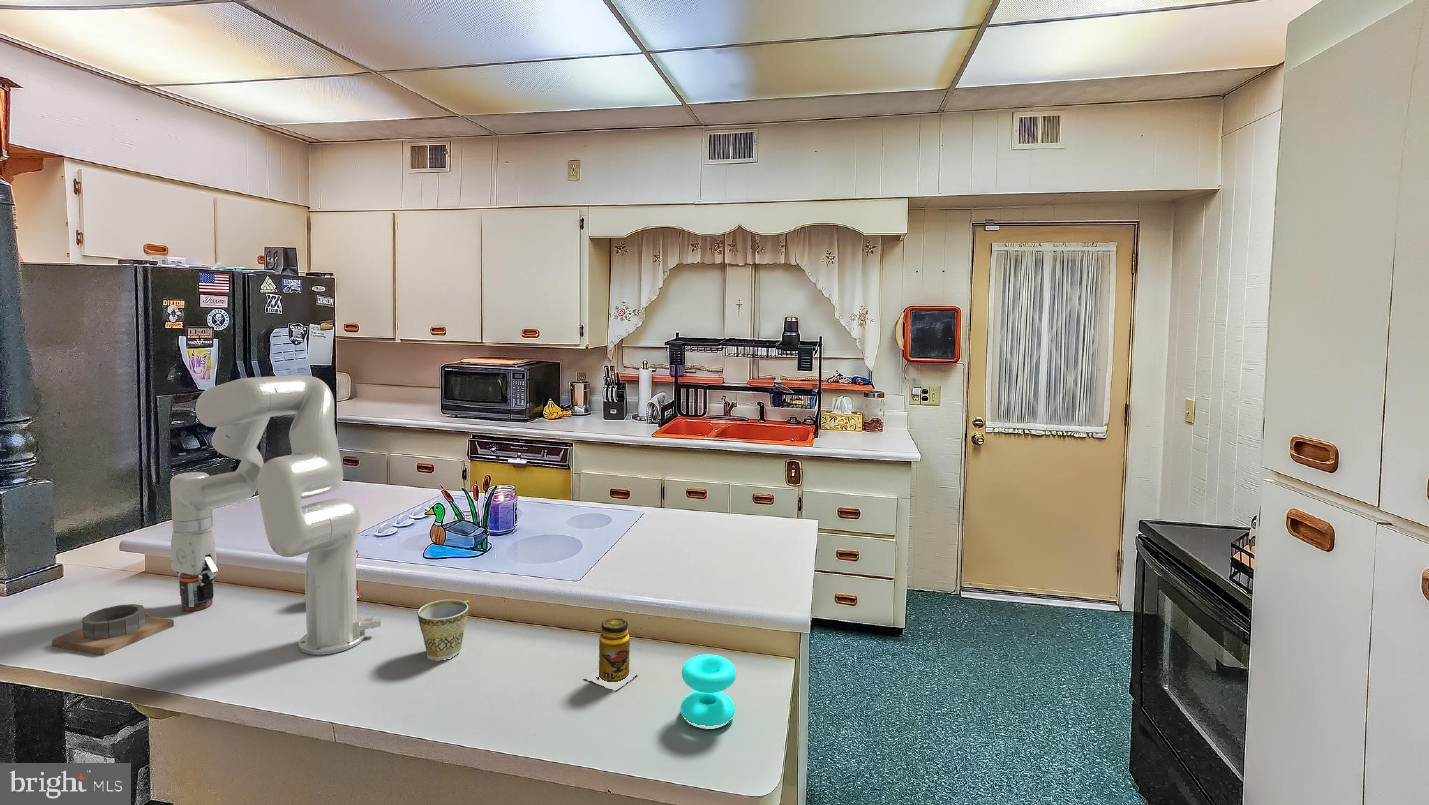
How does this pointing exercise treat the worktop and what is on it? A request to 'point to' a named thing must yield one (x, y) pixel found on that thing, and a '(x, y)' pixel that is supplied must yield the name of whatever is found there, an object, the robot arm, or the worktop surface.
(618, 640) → the condiment
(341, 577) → the robot arm
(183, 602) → the supplement bottle
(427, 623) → the ceramic cup
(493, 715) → the worktop surface
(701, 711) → the donuts
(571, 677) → the worktop surface
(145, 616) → the ring holder
